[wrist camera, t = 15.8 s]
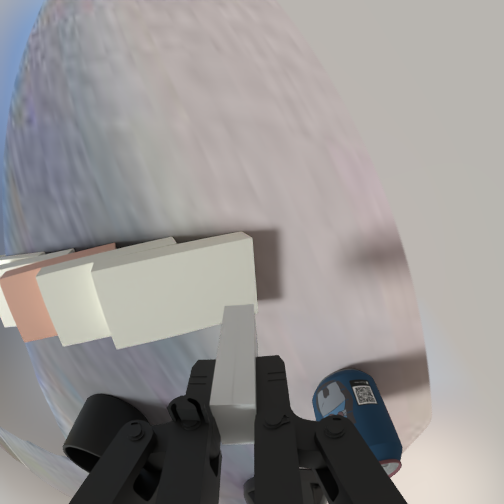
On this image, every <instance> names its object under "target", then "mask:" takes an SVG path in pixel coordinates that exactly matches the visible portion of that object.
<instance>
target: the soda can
mask: <svg viewBox="0 0 504 504" xmlns="http://www.w3.org/2000/svg"><path fill="white" fill-rule="evenodd" d="M312 403H313V408H314V412H315V417H316V421H320V420H321V419H323V418H325V417H327V416H331V415H342V416H344V417H347V418H348V419H349V420H350V421H352V422H353V424H354V425H355V427H356V428H357V430H358V431H359V433H360V434H361V436H362V437H363V439H364V440H365V442H366V443H367V445H368V446H369V448H370V449H371V451H372V452H373V454H374V455H375V457H376V458H377V460H378V461H379V463H380V464H381V466H382V467H383V468H384V470H385V471H386V473H387V474H388V476H389V477H392V476H393V475H395V474H396V473H397V472H398V471H399V470H400V468H401V466H402V464H401V462H400V459H401V454H402V445H401V442H400V440H399V437H398V435H397V432H396V430H395V427H394V425H393V423H392V420H391V418H390V416H389V413H388V411H387V409H386V406H385V404H384V402H383V399H382V397H381V395H380V393H379V390H378V388H377V386H376V384H375V382H374V380H373V378H372V377H371V376H370V375H368V374H366V373H364V372H362V371H359V370H357V369H343V370H339V371H336V372H334V373H332V374H330V375H328V376H327V377H325V378H324V379H323V380H322V381H321V382H320V384H319V385H318V387H317V389H316V391H315V393H314V396H313V400H312Z"/></svg>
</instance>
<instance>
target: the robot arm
mask: <svg viewBox="0 0 504 504" xmlns="http://www.w3.org/2000/svg"><path fill="white" fill-rule="evenodd" d="M167 410H168V412H169V414H170V416H171V418H172V420H173V421H171V422H169V423H166V424H161V425H155V426H150V424H149V423H147V422H145V421H143V420H132V421H130V422H128V423H126V424H125V425H124V426H123V427H122V428H121V429H120V430H119V432H118V433H117V435H116V436H115V438H114V439H113V441H112V442H111V443H110V445H109V446H108V448H107V449H106V451H105V452H104V453H103V455H102V456H101V458H100V459H99V461H98V462H97V463H96V465H95V466H94V468H93V469H92V471H91V472H90V474H89V475H88V476H87V478H86V479H85V481H84V482H83V484H82V485H81V487H80V488H79V489H78V491H77V492H76V494H75V495H74V497H73V498H72V500H71V501H70V503H69V504H218V503H219V488H220V475H221V461H222V454H221V450H220V441H221V442H222V444H254V478H251V479H250V480H248V481H247V482H246V483H245V484H244V498H245V500H246V503H247V504H327V501H328V503H329V504H407V502H406V501H405V499H404V498H403V496H402V495H401V494H400V492H399V491H398V489H397V488H396V486H395V485H394V483H393V482H392V480H391V479H390V477H389V476H388V474H387V473H386V471H385V470H384V468H383V467H382V466H381V464H380V463H379V461H378V460H377V458H376V457H375V455H374V454H373V452H372V451H371V449H370V448H369V446H368V445H367V443H366V442H365V440H364V439H363V437H362V436H361V434H360V433H359V431H358V430H357V428H356V427H355V425H354V424H353V422H352V421H350V420H349V419H348V418H347V417H344V416H342V415H331V416H327V417H325V418H323V419H321V420H320V421H311V420H306V419H302V418H300V417H298V416H297V415H295V414H294V413H293V411H292V410H291V407H290V400H289V393H288V386H287V378H286V371H285V364H284V362H283V360H282V359H281V358H280V357H279V355H275V356H262V357H258V343H257V333H256V323H255V312H254V304H247V305H232V306H225V307H224V313H223V319H222V325H221V332H220V338H219V344H218V351H217V357H216V360H198V361H197V362H196V363H195V365H194V366H193V367H192V370H191V374H190V378H189V382H188V387H187V391H186V395H185V396H180V397H177V398H175V399H174V400H172V401H171V402H170V403H169V405H168V407H167ZM299 467H304V468H311V469H312V470H300V469H299Z"/></svg>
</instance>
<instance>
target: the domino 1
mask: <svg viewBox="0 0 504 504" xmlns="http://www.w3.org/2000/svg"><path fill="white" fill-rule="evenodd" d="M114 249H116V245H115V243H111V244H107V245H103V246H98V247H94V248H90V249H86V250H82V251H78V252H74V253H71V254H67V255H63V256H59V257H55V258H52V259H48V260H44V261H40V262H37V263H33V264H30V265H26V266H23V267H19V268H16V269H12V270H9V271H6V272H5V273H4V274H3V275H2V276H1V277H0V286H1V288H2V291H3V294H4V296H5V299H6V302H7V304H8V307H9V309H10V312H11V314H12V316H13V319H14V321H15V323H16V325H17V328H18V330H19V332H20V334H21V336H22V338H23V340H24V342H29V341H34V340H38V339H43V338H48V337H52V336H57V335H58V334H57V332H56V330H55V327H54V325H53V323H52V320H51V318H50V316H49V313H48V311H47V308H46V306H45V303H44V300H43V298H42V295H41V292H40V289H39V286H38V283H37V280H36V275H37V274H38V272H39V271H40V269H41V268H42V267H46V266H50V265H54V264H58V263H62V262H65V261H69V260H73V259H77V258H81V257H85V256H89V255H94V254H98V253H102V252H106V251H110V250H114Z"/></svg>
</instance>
